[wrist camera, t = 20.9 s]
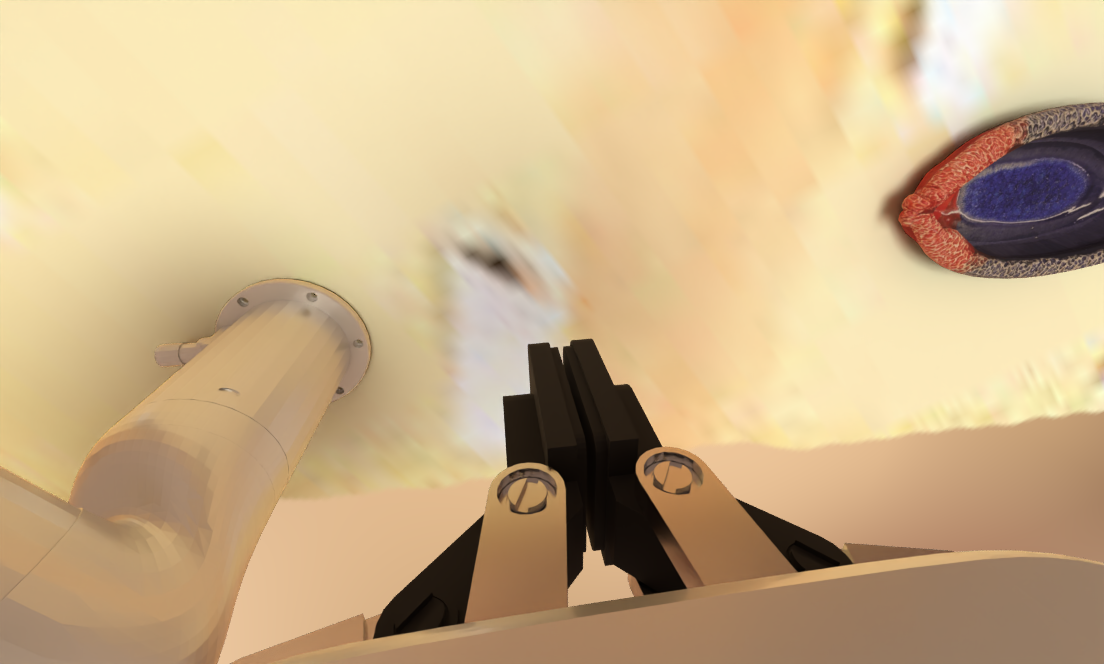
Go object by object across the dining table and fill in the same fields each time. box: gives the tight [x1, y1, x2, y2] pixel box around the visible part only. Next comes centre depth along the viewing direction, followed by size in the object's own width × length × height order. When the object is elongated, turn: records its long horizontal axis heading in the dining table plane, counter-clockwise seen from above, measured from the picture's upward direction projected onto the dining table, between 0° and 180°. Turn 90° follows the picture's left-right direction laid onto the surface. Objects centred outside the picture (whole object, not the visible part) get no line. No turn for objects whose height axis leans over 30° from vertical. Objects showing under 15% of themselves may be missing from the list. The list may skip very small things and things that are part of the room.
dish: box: [898, 103, 1104, 279], centre depth 42 cm, size 16×31×5 cm, turn 89°
